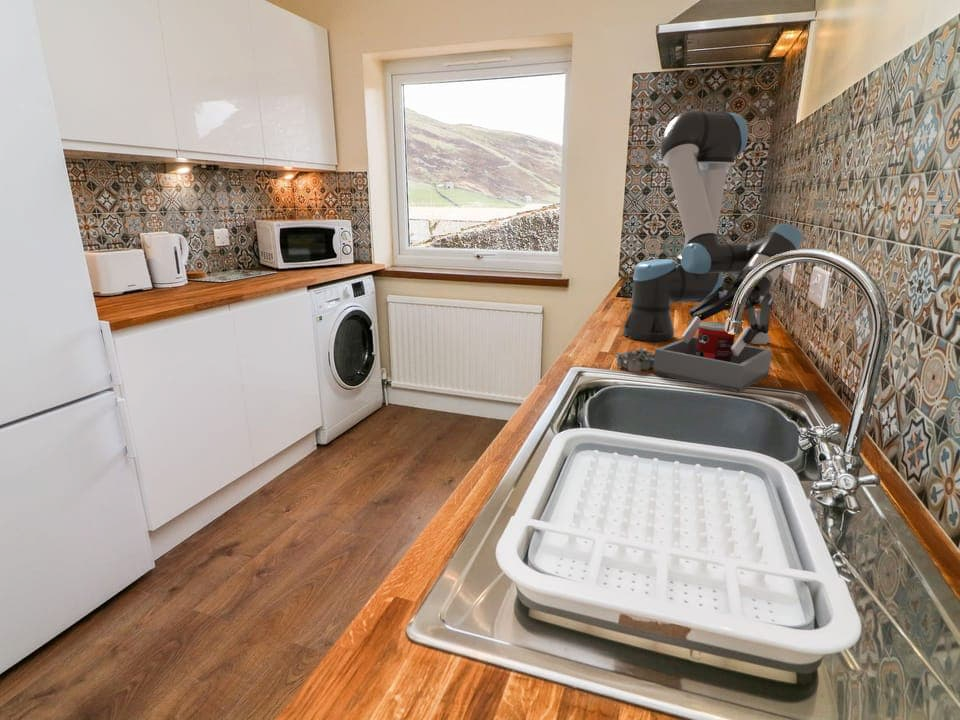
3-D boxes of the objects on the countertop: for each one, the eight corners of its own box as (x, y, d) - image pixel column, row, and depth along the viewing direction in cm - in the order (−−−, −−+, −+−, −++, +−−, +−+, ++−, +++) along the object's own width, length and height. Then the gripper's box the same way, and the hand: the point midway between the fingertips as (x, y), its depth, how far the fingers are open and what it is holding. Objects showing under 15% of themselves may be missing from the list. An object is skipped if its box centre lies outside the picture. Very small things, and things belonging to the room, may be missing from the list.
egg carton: (633, 374, 131) (634, 357, 130) (610, 366, 137) (612, 350, 136) (663, 367, 136) (665, 352, 135) (640, 360, 142) (642, 345, 141)
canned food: (696, 363, 136) (701, 320, 133) (731, 368, 132) (737, 323, 129) (691, 370, 129) (696, 325, 126) (727, 376, 126) (734, 329, 123)
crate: (687, 358, 144) (690, 336, 143) (768, 373, 131) (772, 349, 130) (652, 373, 130) (655, 349, 129) (739, 392, 117) (743, 366, 116)
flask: (754, 345, 159) (759, 312, 156) (737, 340, 166) (742, 307, 163) (775, 344, 160) (780, 311, 158) (757, 339, 167) (762, 307, 164)
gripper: (813, 295, 123) (763, 368, 119) (717, 282, 143) (672, 344, 140) (803, 273, 119) (751, 347, 115) (706, 263, 139) (660, 326, 136)
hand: (708, 345), depth 128 cm, fingers open, 13 cm apart
